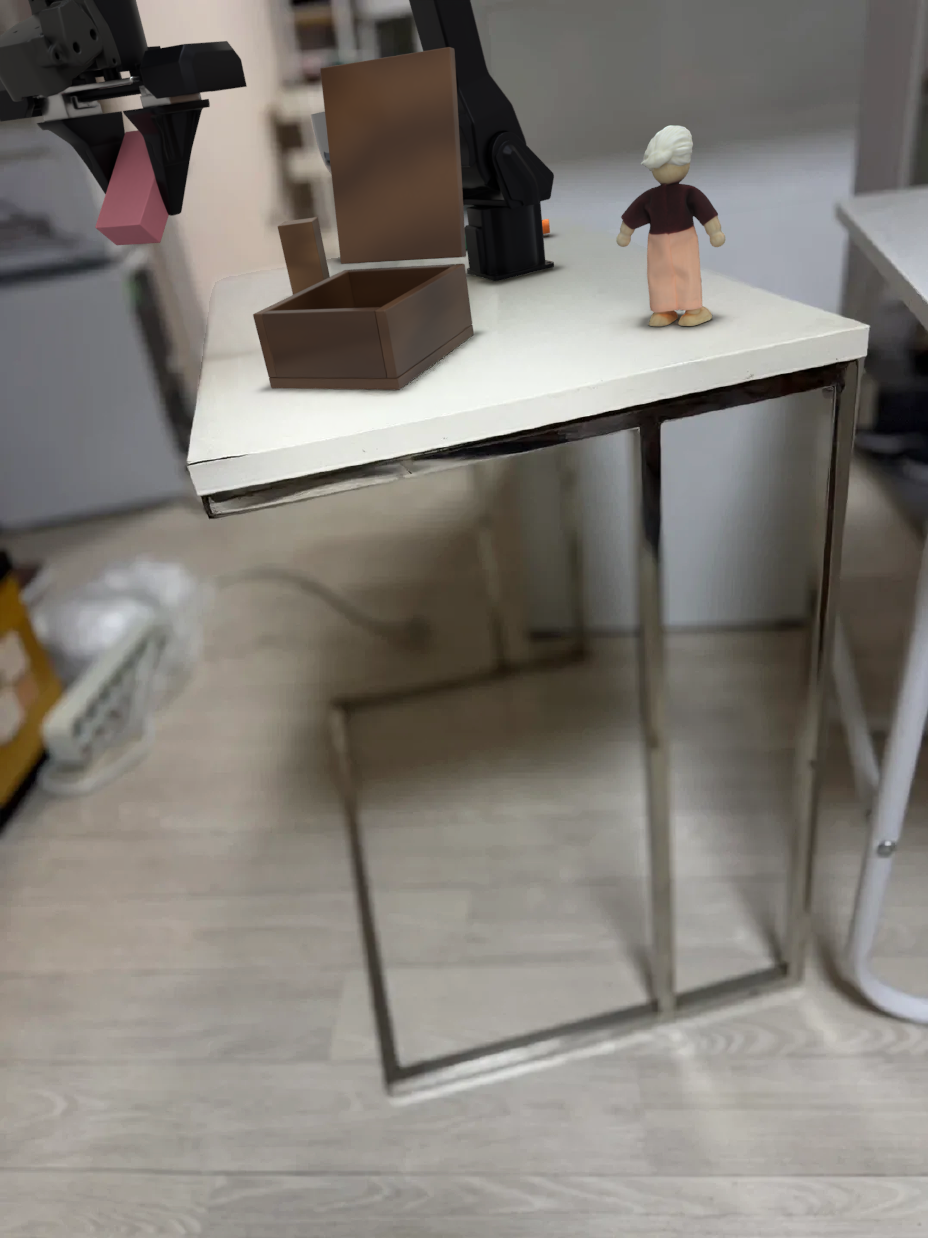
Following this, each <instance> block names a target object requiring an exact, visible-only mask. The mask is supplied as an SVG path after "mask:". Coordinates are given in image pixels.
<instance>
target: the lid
mask: <svg viewBox="0 0 928 1238" xmlns="http://www.w3.org/2000/svg"><path fill="white" fill-rule="evenodd" d="M319 71H320V78H321V89H322V98H323V99H322V100H323V107H324V108H323V109H324V112H325V118H326V128H327V137H328V147H329V156H330V165H331V173H330V175H331V184H332V193H333V202H334V212H335V222H336V230H337V231H336V232H337V237H338V238H337V240H338V241H337V242H338V250H339V259H340V264H341V265H348V264H349V265H350V264H366V263H383V262H384V263H385V262H400V261H401V262H402V261H419V260H435V259H453V258H454V259H455V258H466V257H467V249H466V244H465V212H464V210H465V209H464V206H463V191H462V174H461V156H460V139H459V121H458V103H457V86H456V68H455V51H454V48H451V47H447V48H441V49H434V50H428V51H423V50H422V51H417V52H411V53H405V54H397V55H393V56H385V57H379V58H374V59H366V60H362V61H361V60H360V61H355V62H349V63H343V64H342V63H341V64H336V65H329V66H324V67H320V69H319Z"/></svg>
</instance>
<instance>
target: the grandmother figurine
mask: <svg viewBox="0 0 928 1238" xmlns="http://www.w3.org/2000/svg"><path fill="white" fill-rule="evenodd" d="M692 138H693V135H692V134H691V130H689V129H687V128H686V127H685V126H682V125H667V126H665V127H664V128H662V129H661V130H659V131H657V132H656V133H655V135H654V136H653V137H652V138H650V141H649V143H648V144H647V147H646V150H645V151H644V154H643V159H642V161H641V163H640V166H644V167H645V168H646V169H648V170H649V171H650V172H651V174H652V177H653V178H654V180H656V182H658V183H659V184H660V185H657V186H654V187H651V188H649V189H647V190H645V191H644V192H642V193H641V194H640V195H638V196H637V197H636V198H635V199H633V201H632V202H631V203H630V204H629V205H628V207H627V208H626V209H625V210H624V212H623V213H622V214H621V216H620V218H621V220H622V221H621V224H620V227H619V233H618V234H617V236H616V239H615V242H616V244H617V246H619V247H620V248H625V247H627V246H629V245H630V243H631V241H632V235H633V234H634V233H635V231H636V229H639V228H642V227H644V226H646V225H649V230H648V234H647V246H646V247H647V248H646V249H647V250H646V251H647V252H646V277H647V280H646V281H647V288H648V298H649V299H648V301H649V311H651V312H653V313H652V314H651V316H650V319H649V322H648V326H650V327H665V326H669V325H670V324H672V323H675V321H676V320H678V323H677V325H679V326H681V327H694V326H697V325H701V324H703V323H705V322H708V321H710V320H711V319H713V315H712V312H711V310H710V309H709V308H707V307H706V306H703V285H702V273H701V257H700V243H699V236H698V232H697V230H696V226H695V222H694V218H695V219H696V220H697V221H698V222H699V224H701V226H702V227H703V228H704V230H705V233H706V235H708V237H709V243H710V245H711V246H712V247H714V248H720V247H722V246H723V245H725V243H726V235H725V233H724V232H723V231H722V224H721V221H720V219H719V213H718V211H717V210H716V208H715V207H714V205H713V203H712V202H711V201H710V199H709V198H708V197H707V195H706V194H705V193H704V192H703V191H702V190H701V189H700V188H697V187H696V186H694V185H691V184H686V183H681V182H682V181H683V180H684V179H685V178H686V177H687V175H688V173H689V171H690V168H691V159H692V154H693V147H694V143H693V139H692ZM677 311H685V312H684V313H683V314H682V315H681V316H680V318H679V315H678V313H677ZM678 318H679V319H678Z"/></svg>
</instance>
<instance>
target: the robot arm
mask: <svg viewBox="0 0 928 1238" xmlns="http://www.w3.org/2000/svg"><path fill="white" fill-rule="evenodd" d="M408 2H409V6H410V9H411V13H412V17H413V21H414V24H415V26H416V30H417V31H416V32H417V35H418V39H419V42H420V46H421V49H422V51H428V50H434V49H441V48H447V47H451V48H454V51H455V68H456V86H457V103H458V121H459V139H460V156H461V174H462V191H463V207H464V206H468V207H466V216H467V225H464V227H465V238H466V246H467V249H466V255H467V260H468V262H467V263H468V267H467V268H466V274H468V275H471V276H475V277H478V278H482V279H484V280H488V281H492V282H500V281H505V280H508V279H512V278H517V277H520V276H521V277H522V276H524V275H528V274H529V275H530V274H532V273H536V272H541V271H545V270H549V269H553V268H555V262H554V261H553V260H552V261H551V260H548V259H546V250H545V239H544V234H543V226H542V220H543V216H542V214H543V213H542V203H541V202H544V201H548V200H550V199H551V197H552V193H553V192H552V191H553V185H554V178H555V174H554V172H553V170H551V169H550V168H549V167H548V166H547V165H546V163H545V162H544V161H542V160H541V158H540V157H538V156H537V154H536V153H535V152H534V151H533V150H532V149H531V148H530V147H529V146H528V145H527V139H526V137H525V134H524V131H523V129H522V126H521V123H520V121H519V118H518V115H517V113H516V110H515V107H514V105H513V103H512V102H511V100H510V99H509V98H508V96H507V95H506V93H504V91H503V90H502V88H501V87H500V86H499V84H498V83H497V81H496V80H495V79H494V77H493V76H492V75H491V73H490V71H489V69H488V65H487V61H486V58H485V54H484V50H483V49H484V48H483V45H482V41H481V37H480V33H479V29H478V25H477V20H476V16H475V13H474V9H473V3H472V0H408ZM28 4H29V8H30V12H31V15H30V16H29V17H27V18H26V19H24V20H22V21H19V22H18V23H16V24H15V25H13V26H12V27H11V28H9V29H7V30H6V31H5V32H3V33H2V34H0V122H1V123H2V122H9V121H15V120H17V121H18V120H24V119H32V118H38V117H42V118H43V121H41V122H36V126H38V127H39V129H40V130H42V131H49V132H51V133H53V135H56V136H57V137H58V138H60V139H62V140H63V141H65V142H66V143H67V144H69V146H71V147H72V149H73V150H74V151H75V153H76V154H77V155H78V156H79V158H80V159H81V160H82V162H83V163H84V164H85V166H86V168H87V169H88V170H89V172H90V173H91V174H92V176H93V178H94V179H95V181H96V182H97V184H98V185H99V187H100V189H101V190H102V192H103V193H104V196H105V195H106V192H107V189H108V185H109V182H110V179H111V176H112V173H113V170H114V167H115V163H116V160H117V157H118V154H119V151H120V148H121V145H122V142H123V138H124V135H125V132H126V131H125V122H124V116H125V117H126V119H128V121H129V122H130V123H131V124H132V125H133V126H134V127H135V129H136V130H138V131H139V132H140V133H141V134H142V136H143V138H144V140H145V144H146V148H147V151H148V155H149V158H150V162H151V165H152V168H153V172H154V175H155V179H156V182H157V185H158V189H159V192H160V195H161V198H162V200H163V203H164V205H165V208H166V211H167V213H168V215H169V216H170V217H173V216H176V215H180V214H181V213H182V211H183V205H184V200H185V199H184V198H185V194H186V193H185V192H186V186H187V180H188V174H189V168H190V162H191V157H192V151H193V147H194V142H195V139H196V135H197V131H198V127H199V123H200V118H201V115H202V112H203V109H207V108H210V106H211V104H210V99H209V98H205V99H202V95H201V93H211V92H219V91H225V90H233V89H239V88H240V89H241V88H247V87H248V86H247V81H246V76H245V71H244V66H243V62H242V59H241V57H240V56H239V54H238V53H237V51H236V50H235V49H234V48H233V46H232V45H231V44H230V42H229V41H228V40H220V41H207V42H194V43H192V42H191V43H181V44H177V45H170V46H165V47H162V46H161V45H155V46H149V45H148V43H147V42H148V41H147V39H146V34H145V30H144V27H143V23H142V18H141V15H140V11H139V7H138V2H137V0H28ZM124 72H125V73H127V72H128V73H129V76H128V77H124V78H123V77H122V73H124ZM96 78H97V79H98V78H103V81H99V82H98V81H97V79H96ZM137 95H138V96H139V95H140V96H139V98H140V99H139V100H140V102H141V106H142V107H141V108H134V109H127V110H126V109H125V110H120V111H119V110H118V111H113V112H112V111H111V112H107V113H103V110H102V105H101V102H99V101H103V100H111V99H118V98H125V97H130V96H137ZM123 115H124V116H123Z"/></svg>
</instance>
